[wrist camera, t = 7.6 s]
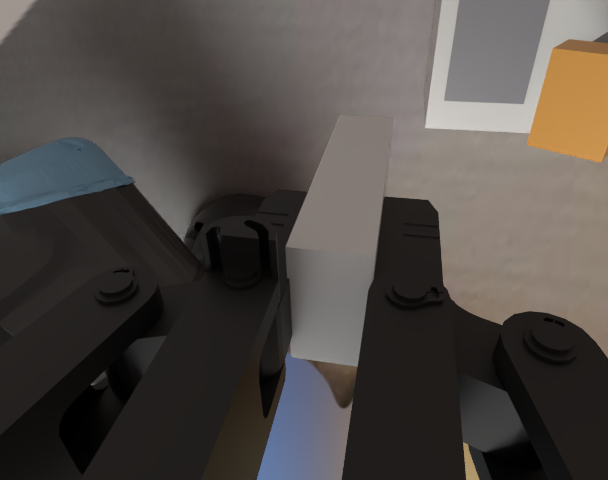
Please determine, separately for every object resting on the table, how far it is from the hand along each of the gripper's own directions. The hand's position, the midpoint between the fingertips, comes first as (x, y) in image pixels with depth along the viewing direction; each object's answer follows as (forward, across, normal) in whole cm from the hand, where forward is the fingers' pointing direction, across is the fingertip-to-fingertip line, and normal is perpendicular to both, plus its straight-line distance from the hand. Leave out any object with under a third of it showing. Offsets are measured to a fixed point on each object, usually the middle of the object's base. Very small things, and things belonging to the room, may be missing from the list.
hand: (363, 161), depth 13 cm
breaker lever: (+19, +15, 0) cm, 24 cm away
